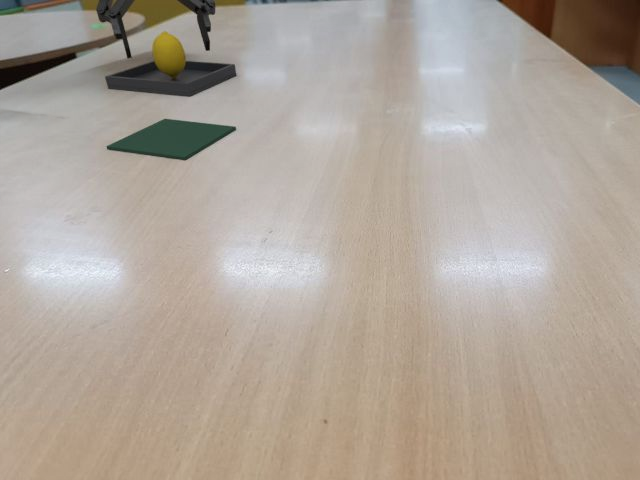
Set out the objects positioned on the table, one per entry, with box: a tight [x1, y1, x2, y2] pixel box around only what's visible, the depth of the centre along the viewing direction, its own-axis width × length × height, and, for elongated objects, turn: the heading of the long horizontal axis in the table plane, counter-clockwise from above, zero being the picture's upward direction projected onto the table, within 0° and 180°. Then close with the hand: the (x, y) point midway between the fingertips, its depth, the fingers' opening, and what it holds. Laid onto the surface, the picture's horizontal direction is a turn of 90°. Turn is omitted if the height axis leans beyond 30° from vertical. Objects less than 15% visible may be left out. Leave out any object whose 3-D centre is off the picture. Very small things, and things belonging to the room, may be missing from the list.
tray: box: [104, 60, 237, 97], centre depth 94 cm, size 17×15×2 cm
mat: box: [106, 118, 237, 161], centre depth 69 cm, size 12×12×1 cm
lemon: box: [151, 30, 187, 78], centre depth 92 cm, size 6×6×8 cm
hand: (169, 49), depth 91 cm, fingers open, 13 cm apart
